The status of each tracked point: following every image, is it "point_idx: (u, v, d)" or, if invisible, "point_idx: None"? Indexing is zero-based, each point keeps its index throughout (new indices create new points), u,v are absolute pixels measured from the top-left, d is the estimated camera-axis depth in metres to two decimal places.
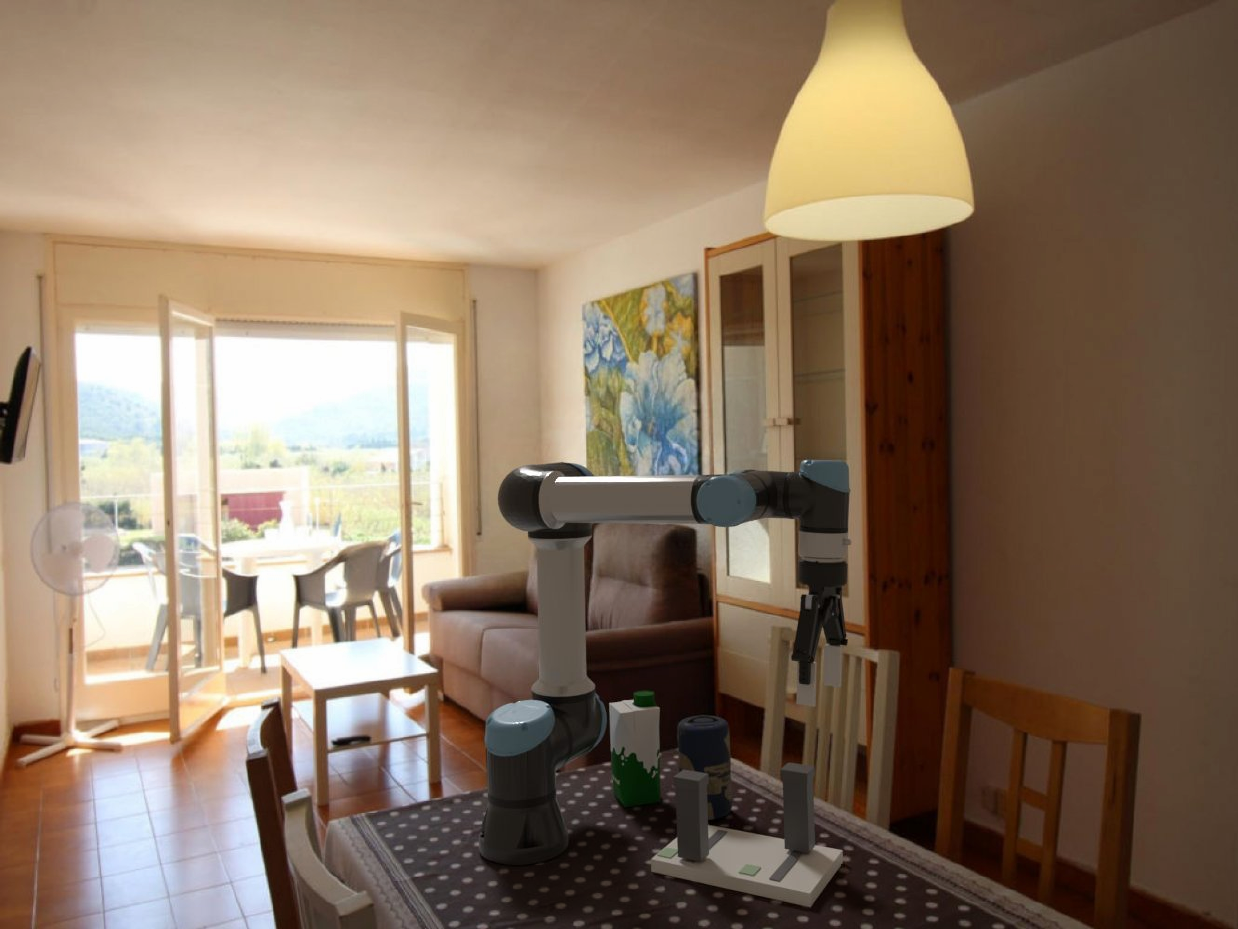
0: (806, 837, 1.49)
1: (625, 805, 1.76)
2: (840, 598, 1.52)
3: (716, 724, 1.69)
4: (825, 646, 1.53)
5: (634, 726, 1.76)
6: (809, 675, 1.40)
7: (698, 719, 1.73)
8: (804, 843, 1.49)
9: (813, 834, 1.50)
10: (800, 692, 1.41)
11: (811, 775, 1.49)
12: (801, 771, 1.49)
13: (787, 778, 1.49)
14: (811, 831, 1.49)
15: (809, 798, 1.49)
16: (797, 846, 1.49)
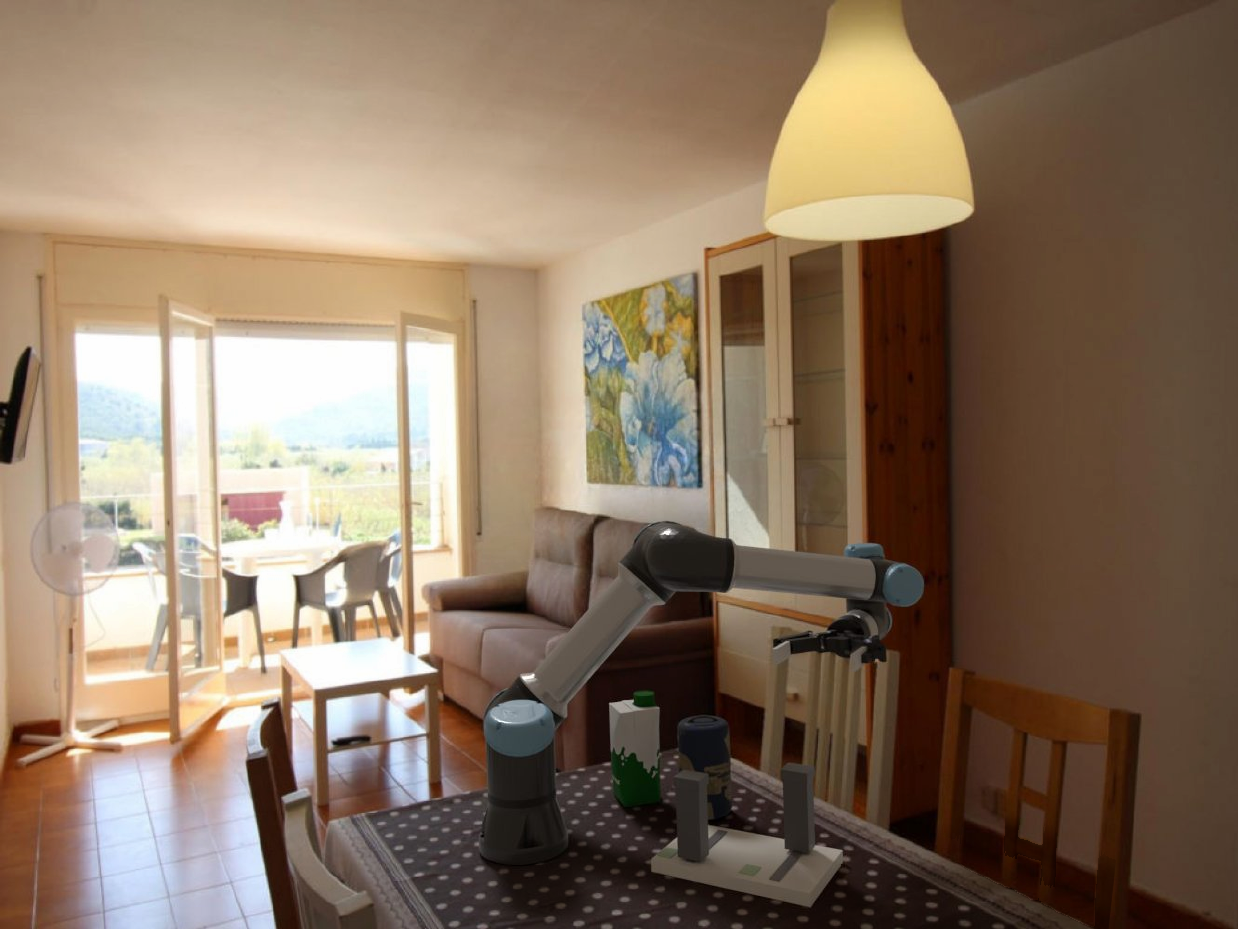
0: (806, 837, 1.49)
1: (625, 805, 1.76)
2: None
3: (716, 724, 1.69)
4: (789, 642, 1.66)
5: (634, 726, 1.76)
6: None
7: (698, 719, 1.73)
8: (804, 843, 1.49)
9: (813, 834, 1.50)
10: (858, 656, 1.56)
11: (811, 775, 1.49)
12: (801, 771, 1.49)
13: (787, 778, 1.49)
14: (811, 831, 1.49)
15: (809, 798, 1.49)
16: (797, 846, 1.49)
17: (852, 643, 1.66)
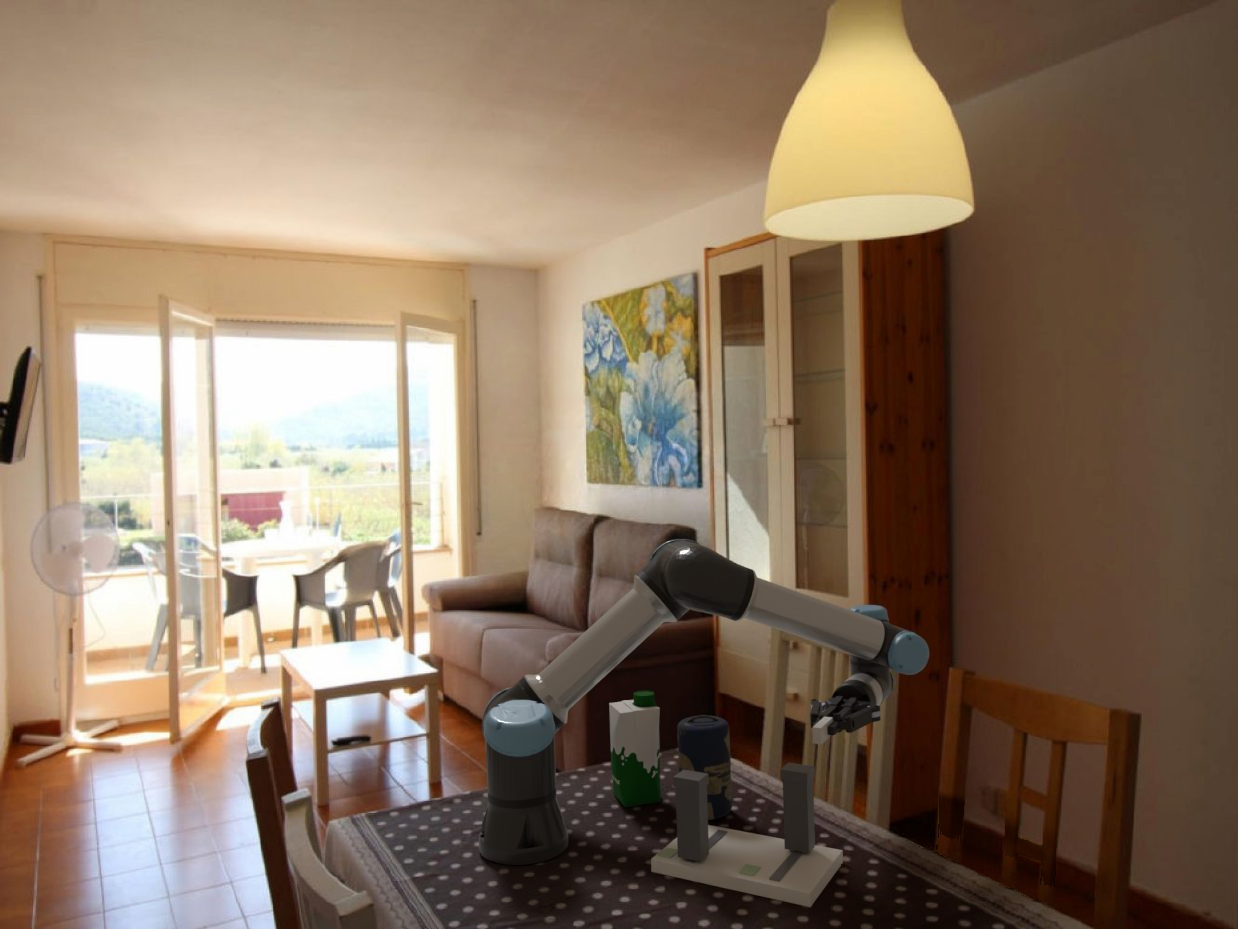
0: (806, 837, 1.49)
1: (625, 805, 1.76)
2: None
3: (716, 724, 1.69)
4: None
5: (634, 726, 1.76)
6: None
7: (698, 719, 1.73)
8: (804, 843, 1.49)
9: (813, 834, 1.50)
10: (824, 728, 1.58)
11: (811, 775, 1.49)
12: (801, 771, 1.49)
13: (787, 778, 1.49)
14: (811, 831, 1.49)
15: (809, 798, 1.49)
16: (797, 846, 1.49)
17: None
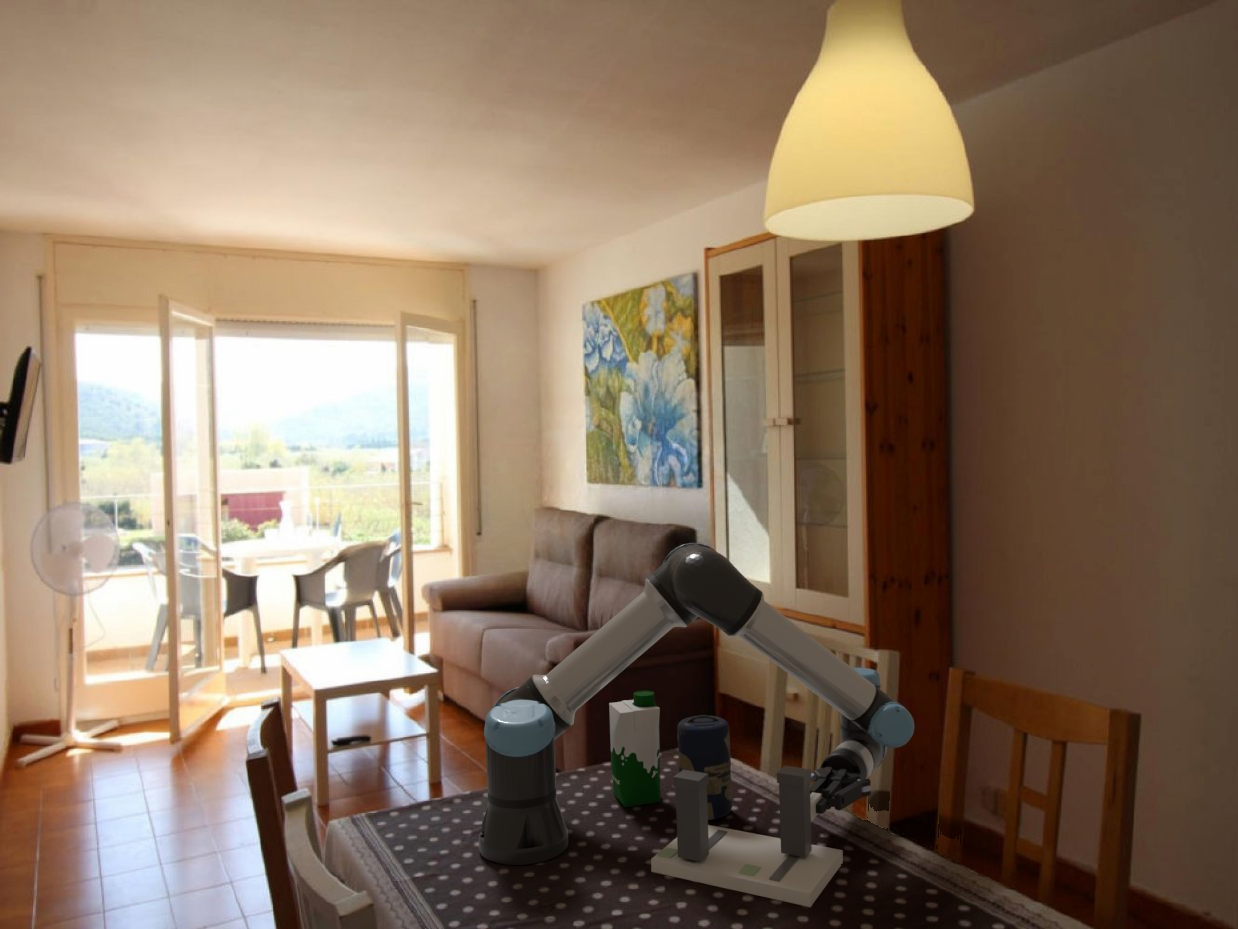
0: (802, 841, 1.47)
1: (625, 805, 1.76)
2: None
3: (716, 724, 1.69)
4: None
5: (634, 726, 1.76)
6: None
7: (698, 719, 1.73)
8: (800, 847, 1.47)
9: (810, 838, 1.49)
10: (812, 807, 1.51)
11: (808, 778, 1.48)
12: (797, 774, 1.47)
13: (783, 781, 1.48)
14: (807, 835, 1.48)
15: (806, 802, 1.48)
16: (793, 850, 1.48)
17: None
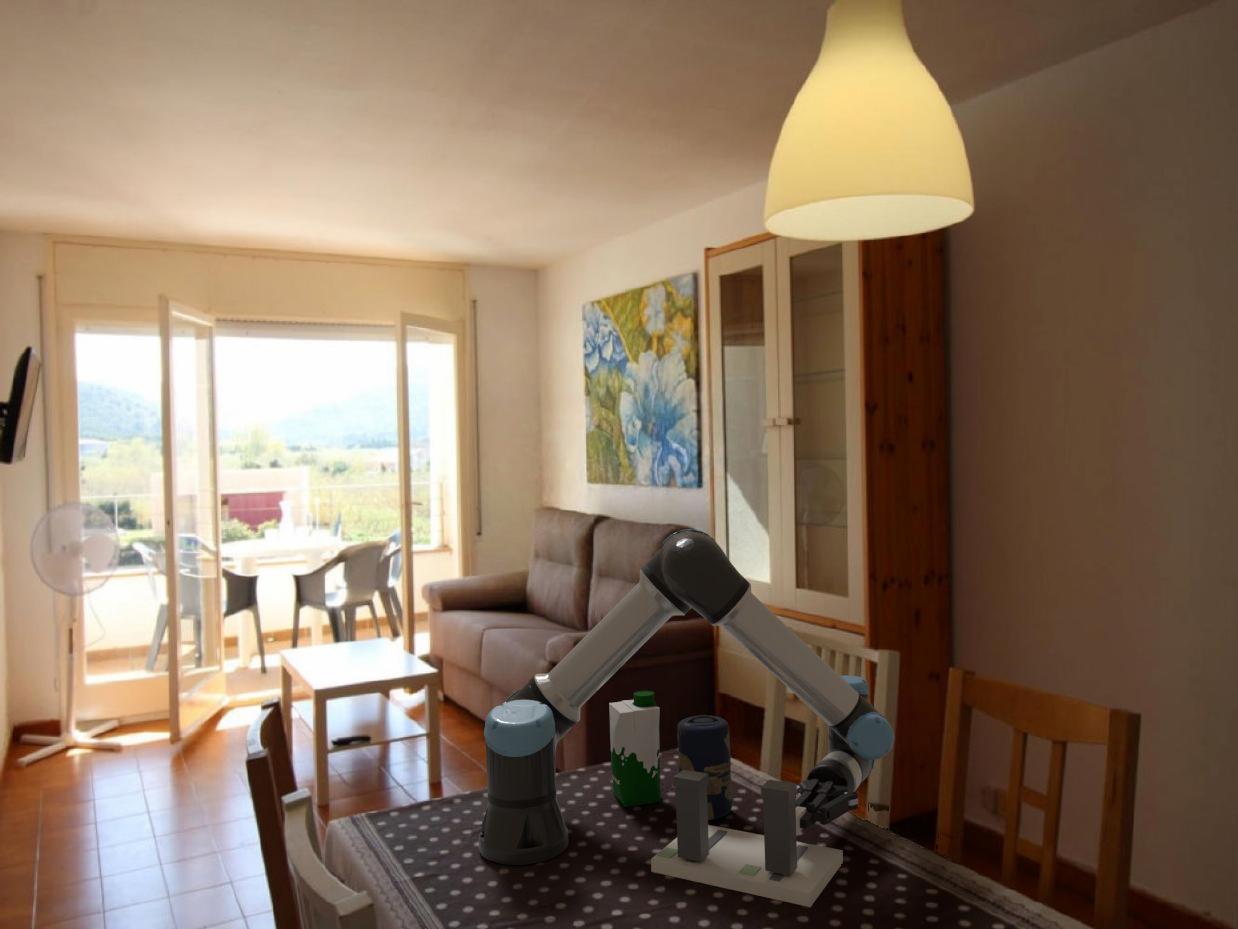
0: (787, 858, 1.41)
1: (625, 805, 1.76)
2: None
3: (716, 724, 1.69)
4: None
5: (634, 726, 1.76)
6: None
7: (698, 719, 1.73)
8: (785, 864, 1.41)
9: (795, 855, 1.43)
10: (796, 821, 1.46)
11: (793, 793, 1.42)
12: (782, 789, 1.41)
13: (768, 796, 1.42)
14: (793, 852, 1.42)
15: (791, 818, 1.42)
16: (778, 867, 1.42)
17: None
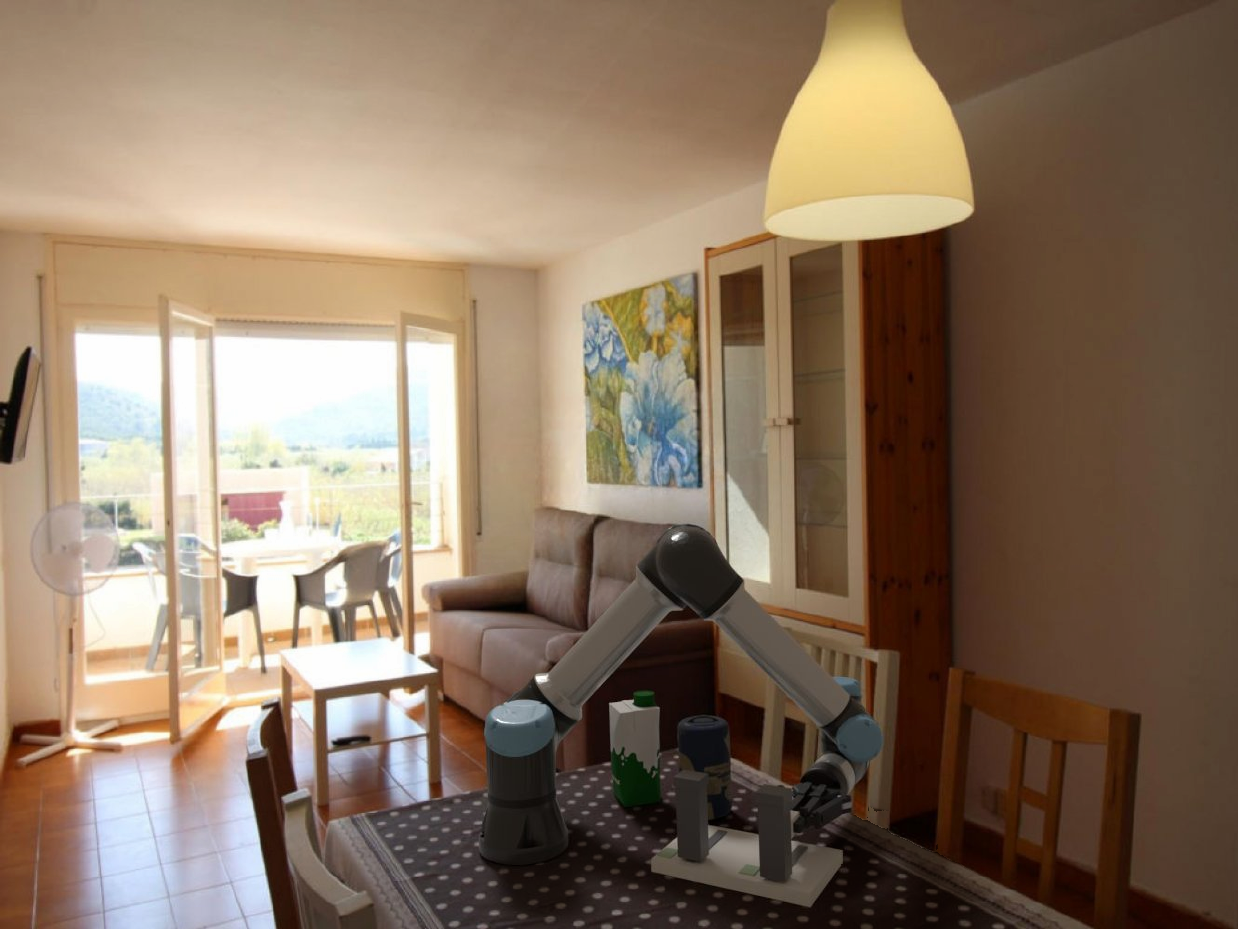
0: (782, 864, 1.39)
1: (625, 805, 1.76)
2: None
3: (716, 724, 1.69)
4: None
5: (634, 726, 1.76)
6: None
7: (698, 719, 1.73)
8: (780, 870, 1.39)
9: (790, 861, 1.41)
10: None
11: (788, 798, 1.40)
12: (777, 794, 1.39)
13: (762, 801, 1.40)
14: (788, 858, 1.40)
15: (786, 823, 1.40)
16: (773, 873, 1.40)
17: None
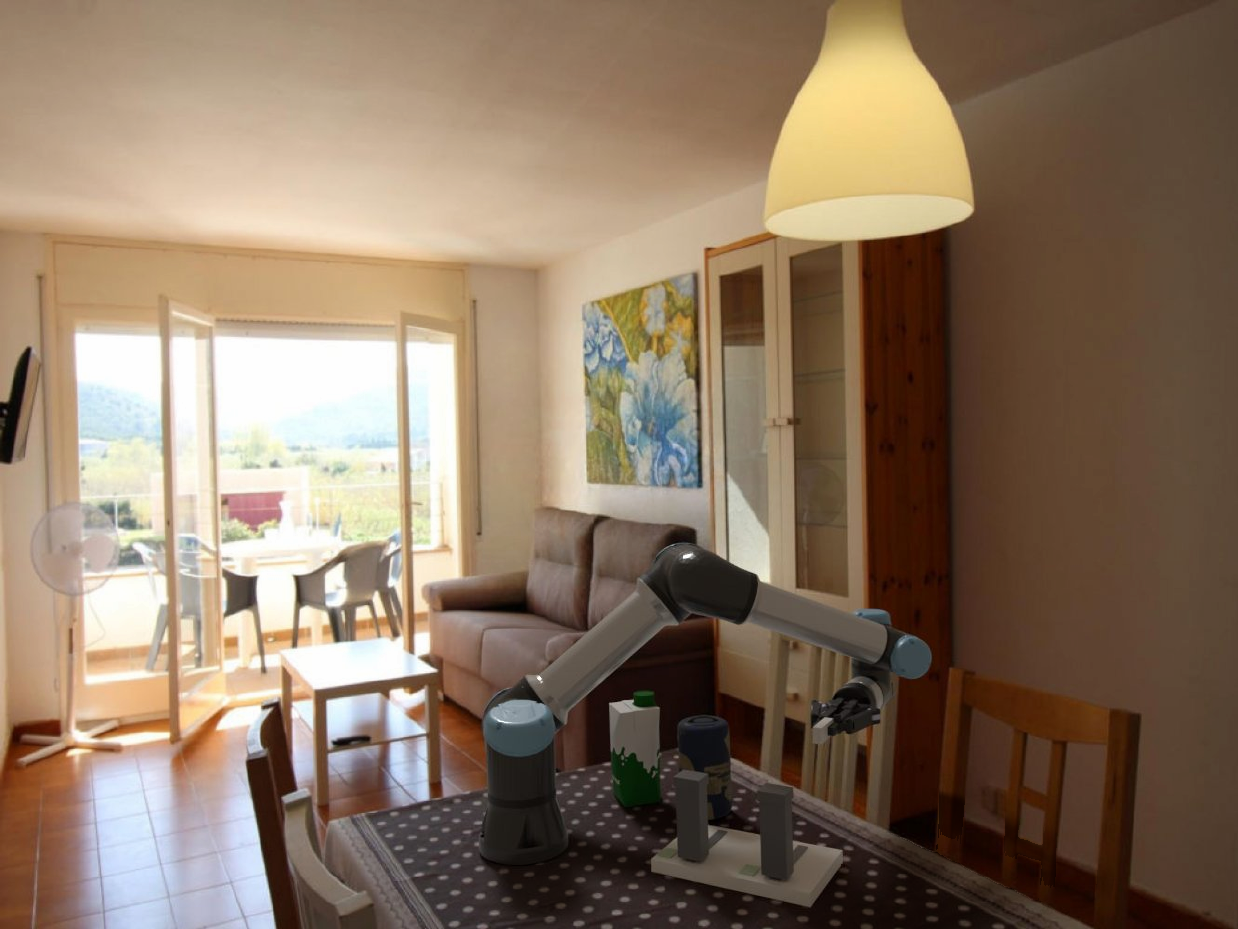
0: (783, 862, 1.40)
1: (625, 805, 1.76)
2: None
3: (716, 724, 1.69)
4: None
5: (634, 726, 1.76)
6: None
7: (698, 719, 1.73)
8: (781, 869, 1.40)
9: (792, 859, 1.42)
10: (824, 728, 1.58)
11: (789, 797, 1.41)
12: (779, 793, 1.40)
13: (764, 800, 1.41)
14: (789, 857, 1.41)
15: (787, 821, 1.40)
16: (774, 872, 1.41)
17: None
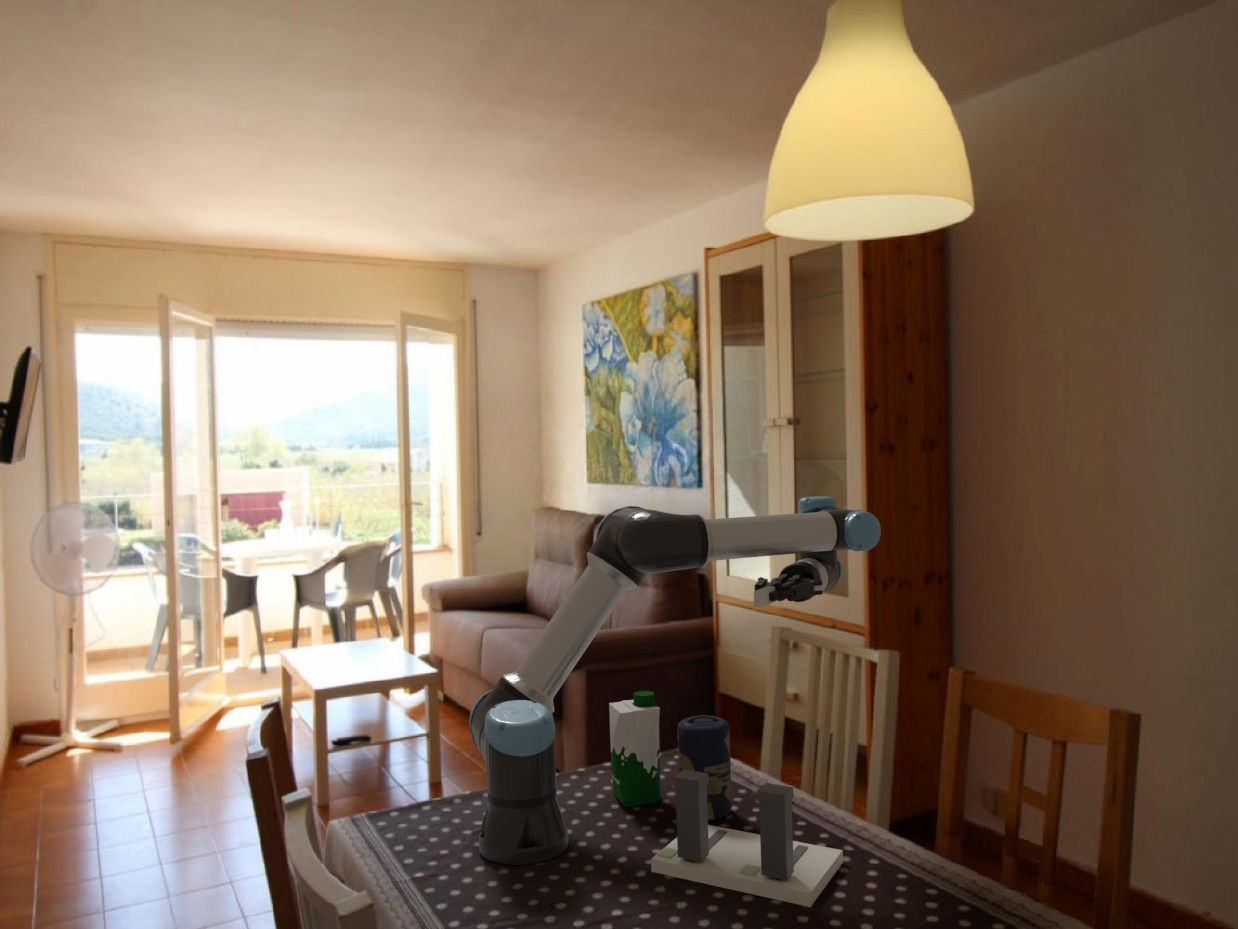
0: (783, 862, 1.40)
1: (625, 805, 1.76)
2: None
3: (716, 724, 1.69)
4: (770, 587, 1.69)
5: (634, 726, 1.76)
6: None
7: (698, 719, 1.73)
8: (781, 869, 1.40)
9: (792, 859, 1.42)
10: (765, 593, 1.65)
11: (789, 797, 1.41)
12: (779, 793, 1.40)
13: (764, 800, 1.41)
14: (789, 857, 1.41)
15: (787, 821, 1.40)
16: (774, 872, 1.41)
17: None
